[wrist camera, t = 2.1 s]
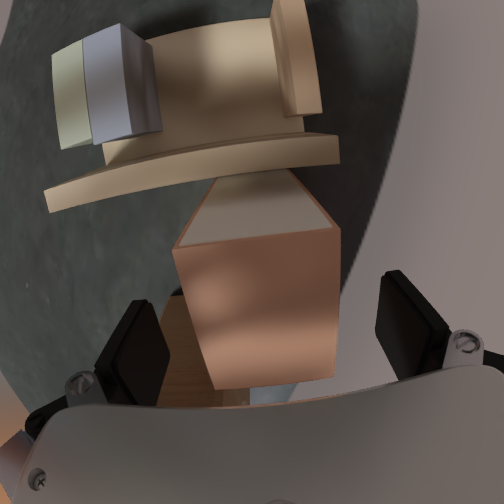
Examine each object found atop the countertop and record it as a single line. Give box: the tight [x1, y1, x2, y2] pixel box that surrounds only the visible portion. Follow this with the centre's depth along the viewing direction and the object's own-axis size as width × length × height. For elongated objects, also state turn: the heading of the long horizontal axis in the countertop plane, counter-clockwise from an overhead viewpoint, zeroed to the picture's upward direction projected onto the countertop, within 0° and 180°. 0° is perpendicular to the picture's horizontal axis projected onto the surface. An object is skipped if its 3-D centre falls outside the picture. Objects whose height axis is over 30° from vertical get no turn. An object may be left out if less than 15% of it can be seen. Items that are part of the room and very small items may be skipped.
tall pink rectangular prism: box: [172, 169, 341, 390], centre depth 15 cm, size 6×5×12 cm
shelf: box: [44, 0, 340, 213], centre depth 13 cm, size 10×14×8 cm
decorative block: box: [156, 295, 250, 407], centre depth 16 cm, size 11×6×20 cm, turn 7°
